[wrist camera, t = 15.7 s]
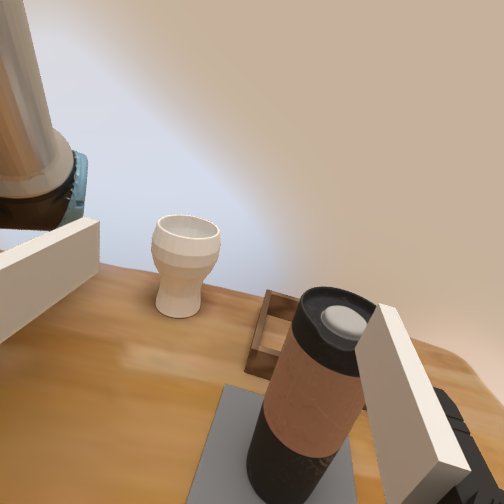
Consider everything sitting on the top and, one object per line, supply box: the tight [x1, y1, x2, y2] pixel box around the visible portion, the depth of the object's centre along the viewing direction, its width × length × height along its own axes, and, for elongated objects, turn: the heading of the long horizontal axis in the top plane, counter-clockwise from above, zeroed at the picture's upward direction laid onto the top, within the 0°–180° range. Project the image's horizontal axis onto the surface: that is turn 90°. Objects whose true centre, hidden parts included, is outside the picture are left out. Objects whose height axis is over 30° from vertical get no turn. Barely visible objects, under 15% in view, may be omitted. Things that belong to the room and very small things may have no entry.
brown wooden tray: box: [244, 290, 367, 410], centre depth 47 cm, size 22×16×4 cm
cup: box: [151, 215, 220, 318], centre depth 49 cm, size 11×11×15 cm
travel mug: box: [246, 287, 377, 504], centre depth 26 cm, size 8×8×20 cm
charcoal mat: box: [186, 383, 357, 504], centre depth 31 cm, size 16×16×1 cm
